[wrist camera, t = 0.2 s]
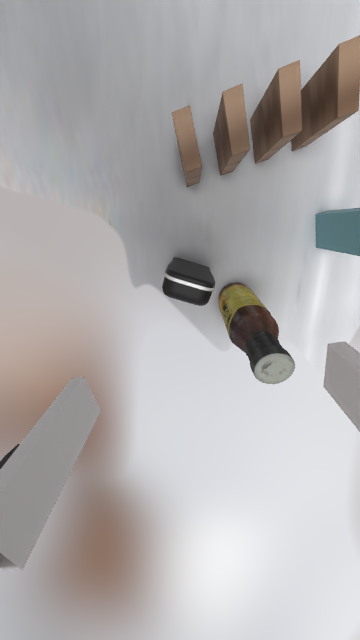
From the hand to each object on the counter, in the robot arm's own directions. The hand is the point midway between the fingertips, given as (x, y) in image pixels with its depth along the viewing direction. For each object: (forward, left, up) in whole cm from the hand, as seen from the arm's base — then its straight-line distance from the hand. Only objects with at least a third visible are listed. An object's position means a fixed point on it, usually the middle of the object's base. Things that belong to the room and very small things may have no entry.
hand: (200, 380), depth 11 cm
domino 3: (-15, +13, -28) cm, 34 cm away
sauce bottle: (+7, +6, -28) cm, 29 cm away
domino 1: (-15, +3, -28) cm, 32 cm away
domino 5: (-1, +21, -28) cm, 35 cm away
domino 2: (-15, +8, -28) cm, 33 cm away
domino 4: (-15, +18, -28) cm, 36 cm away
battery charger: (0, -1, -28) cm, 28 cm away
